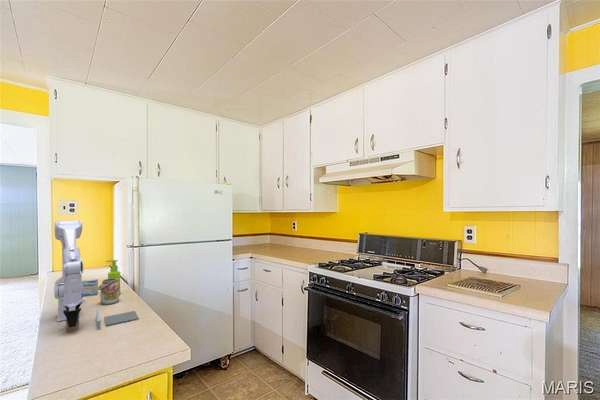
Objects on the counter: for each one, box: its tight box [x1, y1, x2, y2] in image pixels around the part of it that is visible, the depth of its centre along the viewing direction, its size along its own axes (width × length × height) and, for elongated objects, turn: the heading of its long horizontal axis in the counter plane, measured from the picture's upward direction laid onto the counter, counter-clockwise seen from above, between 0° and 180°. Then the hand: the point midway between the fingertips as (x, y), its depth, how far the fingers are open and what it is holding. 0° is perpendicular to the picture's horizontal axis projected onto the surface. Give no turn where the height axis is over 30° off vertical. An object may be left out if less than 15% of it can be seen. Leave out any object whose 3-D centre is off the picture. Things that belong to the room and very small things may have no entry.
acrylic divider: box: [95, 309, 101, 331], centre depth 124 cm, size 16×1×4 cm, turn 36°
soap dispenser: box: [105, 259, 121, 296], centre depth 166 cm, size 6×7×20 cm
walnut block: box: [65, 315, 80, 333], centre depth 119 cm, size 4×4×6 cm
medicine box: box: [82, 278, 99, 298], centre depth 168 cm, size 8×4×9 cm, turn 118°
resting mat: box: [103, 310, 139, 327], centre depth 129 cm, size 12×12×1 cm
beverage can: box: [98, 278, 120, 306], centre depth 152 cm, size 9×8×12 cm
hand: (72, 323), depth 119 cm, fingers open, 7 cm apart
